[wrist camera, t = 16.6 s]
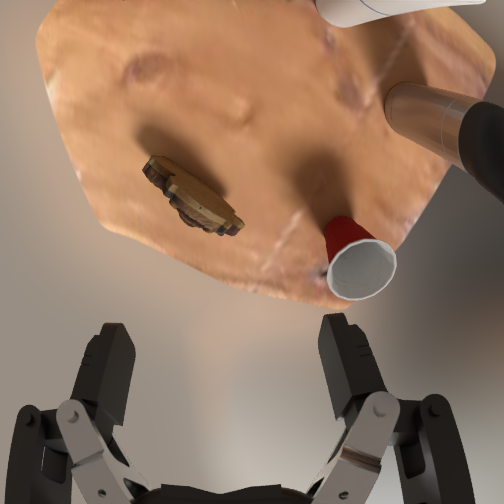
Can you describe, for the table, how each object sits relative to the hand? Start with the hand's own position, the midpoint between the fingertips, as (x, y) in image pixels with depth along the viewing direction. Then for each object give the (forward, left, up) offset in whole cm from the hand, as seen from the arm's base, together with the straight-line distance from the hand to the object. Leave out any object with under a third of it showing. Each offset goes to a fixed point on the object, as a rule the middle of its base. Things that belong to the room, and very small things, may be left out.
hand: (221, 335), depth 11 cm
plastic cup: (-18, +16, -33) cm, 41 cm away
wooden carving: (+5, +7, -33) cm, 34 cm away
